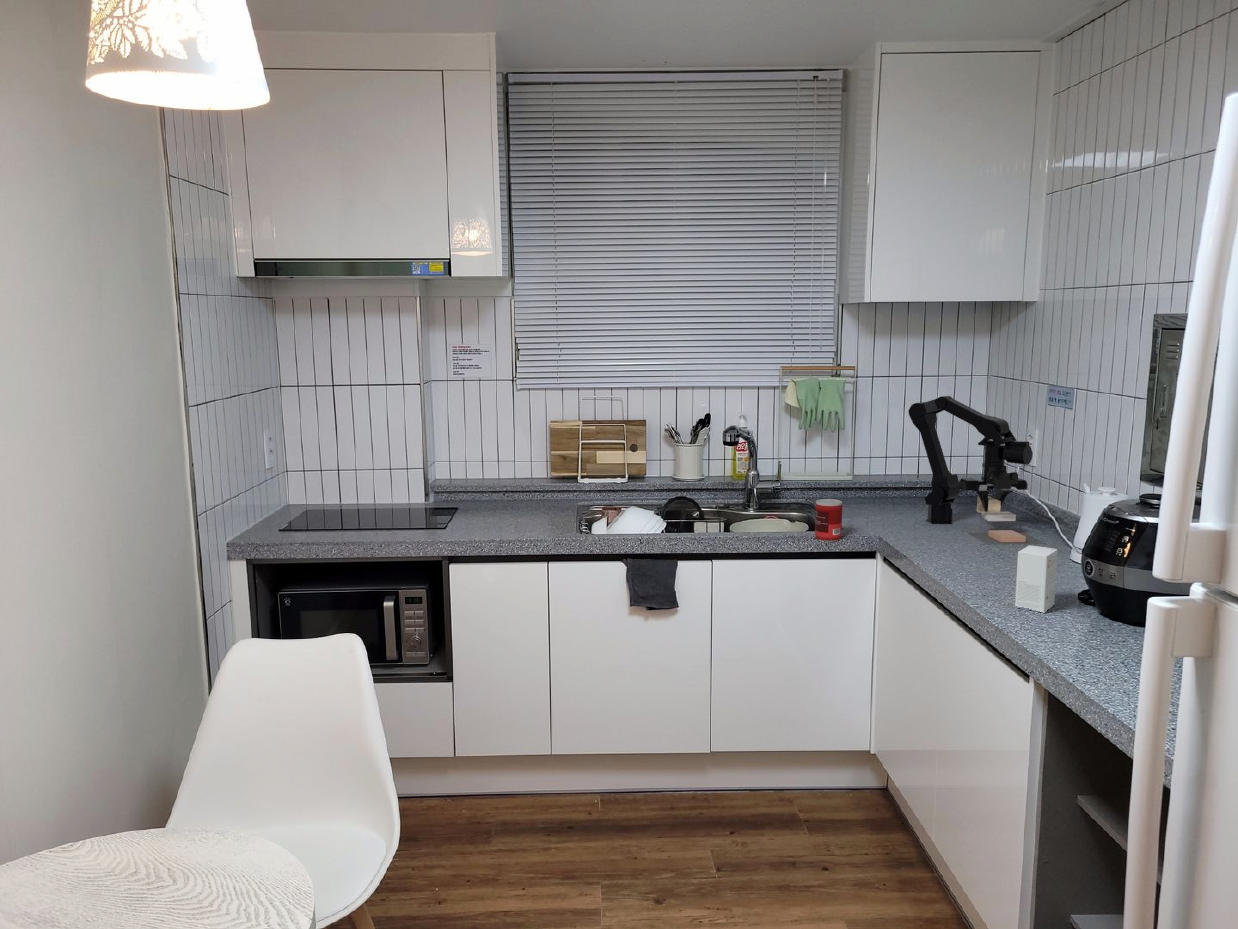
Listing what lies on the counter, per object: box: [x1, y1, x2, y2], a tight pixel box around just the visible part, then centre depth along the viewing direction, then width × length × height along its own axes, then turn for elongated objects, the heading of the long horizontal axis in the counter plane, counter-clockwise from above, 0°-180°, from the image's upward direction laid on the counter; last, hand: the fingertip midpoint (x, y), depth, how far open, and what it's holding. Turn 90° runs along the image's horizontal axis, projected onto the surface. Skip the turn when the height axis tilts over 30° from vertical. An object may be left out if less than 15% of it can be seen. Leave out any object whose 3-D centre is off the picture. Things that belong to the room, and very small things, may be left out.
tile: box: [987, 529, 1026, 543], centre depth 267 cm, size 7×2×9 cm
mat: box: [967, 531, 1047, 546], centre depth 268 cm, size 17×15×1 cm
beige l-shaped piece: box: [976, 495, 1017, 522], centre depth 277 cm, size 15×8×5 cm, turn 1°
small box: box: [1014, 544, 1058, 614], centre depth 202 cm, size 8×6×13 cm
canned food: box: [814, 498, 843, 541], centre depth 271 cm, size 8×8×11 cm
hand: (991, 512), depth 277 cm, fingers closed on beige l-shaped piece, 3 cm apart
